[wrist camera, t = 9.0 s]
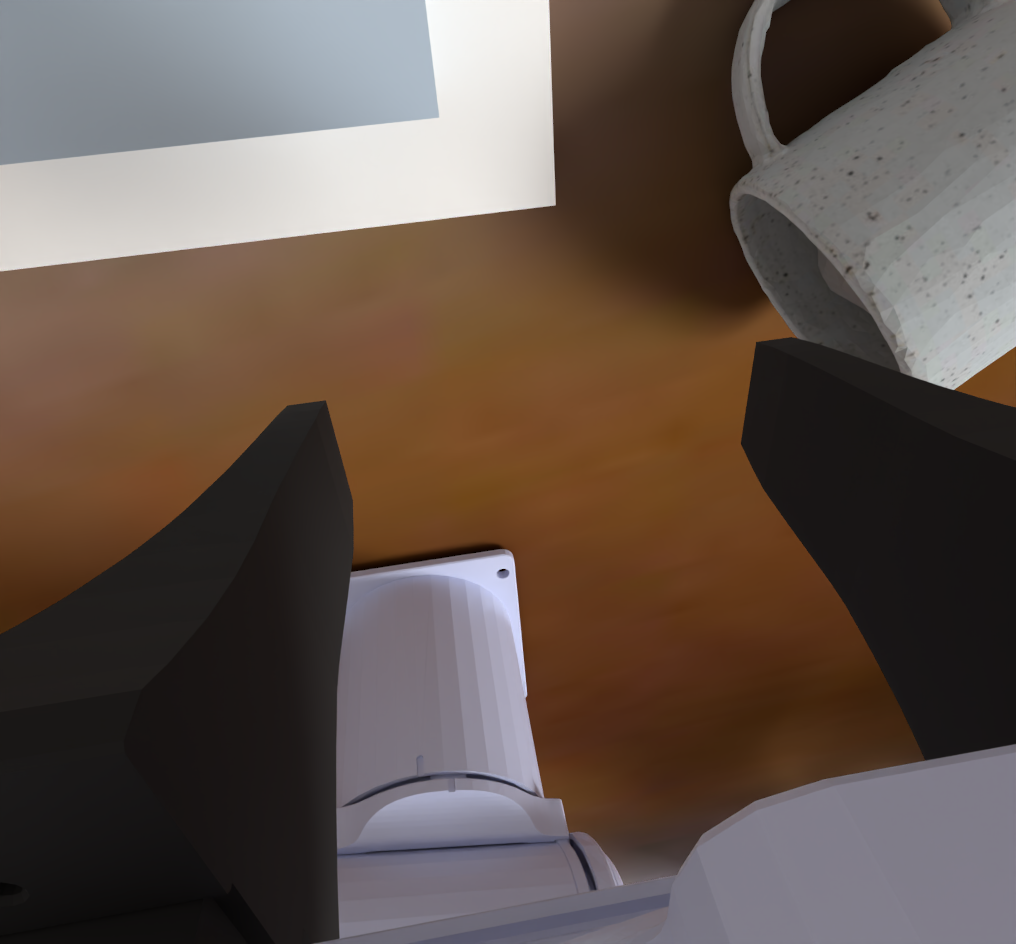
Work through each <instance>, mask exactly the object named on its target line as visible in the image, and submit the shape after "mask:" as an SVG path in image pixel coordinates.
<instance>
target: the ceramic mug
mask: <svg viewBox="0 0 1016 944" xmlns="http://www.w3.org/2000/svg"><path fill="white" fill-rule="evenodd" d="M789 1H790V0H755V1H754V3H753V4H752V6H751V8H750V10H749V11H748V13H747V15H746V17H745V19H744V21H743V23H742V25H741V27H740V29H739V33H738V38H737V42H736V46H735V51H734V57H733V62H732V78H731V83H732V98H733V103H734V108H735V113H736V118H737V122H738V125H739V128H740V132H741V135H742V138H743V141H744V145H745V147H746V149H747V151H748V153H749V155H750V157H751V159H752V166H753V168H752V170H751V171H750V172H749V173H748V174H747V175H745V176H743V177H742V178H741V179H740V180H739V181H738V182H737V184H736V185H735V186H734V187H733V189H732V191H731V194H730V200H729V205H730V210H731V221H732V225H733V229H734V231H735V233H736V235H737V237H738V239H739V242H740V244H741V246H742V249H743V253H744V256H745V258H746V260H747V262H748V264H749V266H750V268H751V269H752V271H753V273H754V275H755V276H756V278H757V280H758V282H759V283H760V285H761V288H762V290H763V291H764V292H765V293H766V295H767V296H768V297H769V299H770V302H771V303H772V304H773V306H774V307H775V308H776V310H777V311H778V312H779V314H780V315H781V316H782V318H783V319H784V321H785V322H786V324H787V325H788V327H789V328H790V329H791V331H792V332H793V333H794V334H795V335H796V337H797V338H798V339H801V340H806V341H809V342H813V343H816V344H820V345H823V346H826V347H829V348H832V349H835V350H838V351H841V352H844V353H847V354H850V355H852V356H855V357H858V358H861V359H864V360H867V361H869V362H872V363H875V364H878V365H881V366H883V367H886V368H889V369H892V370H895V371H898V372H900V373H903V374H906V375H909V376H912V377H915V378H918V379H921V380H924V381H927V382H930V383H933V384H936V385H939V386H942V387H945V388H949V389H952V390H954V389H955V388H957V387H958V386H960V385H961V384H962V383H964V382H965V381H967V380H968V379H969V378H971V377H972V376H974V375H975V374H976V373H978V372H979V371H981V370H982V369H983V368H985V367H986V366H988V365H989V364H991V363H992V362H993V361H995V360H996V359H998V358H999V357H1001V356H1002V355H1004V354H1005V353H1006V352H1008V351H1009V350H1011V349H1012V348H1014V347H1015V346H1016V0H939V1H940V3H941V5H942V7H943V8H944V10H945V12H946V13H947V15H948V17H949V18H950V21H951V24H952V27H951V30H950V31H948V32H947V33H945V34H944V35H943V36H941V37H940V38H938V39H937V40H935V41H934V42H932V43H930V44H928V45H926V46H924V47H923V48H922V49H921V50H920V51H919V52H918V53H916V54H915V55H913V56H912V57H911V58H909V59H908V60H906V61H905V62H903V63H902V64H900V65H899V66H897V67H895V68H894V69H892V70H891V71H890V73H889V74H888V75H887V76H886V77H885V78H884V79H882V80H881V81H879V82H878V83H877V84H875V85H874V86H872V87H871V88H869V89H868V90H866V91H865V92H864V93H862V94H861V95H859V96H858V97H856V98H854V99H853V100H851V101H850V102H848V103H847V104H845V105H844V106H842V107H841V108H839V109H837V110H835V111H834V112H832V113H831V114H829V115H828V116H826V117H825V118H823V119H822V120H821V121H820V122H819V123H817V124H816V125H814V126H813V127H811V128H810V129H809V130H807V131H806V132H804V133H803V134H801V135H799V136H798V137H797V138H795V139H794V140H792V141H791V142H790V143H789V144H788V145H786V146H785V145H782V144H780V142H779V141H778V140H777V138H776V137H775V136H774V134H773V131H772V128H771V126H770V123H769V115H768V110H767V108H766V105H765V99H764V93H763V87H762V81H761V56H762V52H763V48H764V42H765V36H766V31H767V30H768V28H769V27H770V21H771V14H772V12H773V11H775V10H777V9H778V8H780V7H781V6H783V5H784V4H786V3H787V2H789Z"/></svg>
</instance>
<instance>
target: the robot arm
mask: <svg viewBox="0 0 1016 944" xmlns="http://www.w3.org/2000/svg"><path fill="white" fill-rule="evenodd" d="M741 445H742V447H743V449H744V451H745V453H746V455H747V457H748V460H749V462H750V464H751V466H752V468H753V470H754V472H755V474H756V476H757V478H758V479H759V481H760V483H761V485H762V487H763V489H764V490H765V492H766V493H767V495H768V496H769V498H770V499H771V501H772V502H773V503H774V505H775V506H776V508H777V509H778V510H779V512H780V513H781V515H782V516H783V517H784V519H785V520H786V522H787V523H788V525H789V526H790V527H791V529H792V530H793V531H794V533H795V534H796V536H797V537H798V538H799V540H800V541H801V542H802V544H803V545H804V547H805V548H806V549H807V551H808V552H809V553H810V555H811V556H812V558H813V559H814V560H815V562H816V563H817V564H818V566H819V567H820V569H821V570H822V571H823V573H824V574H825V575H826V577H827V578H828V580H829V581H830V582H831V584H832V585H833V587H834V588H835V590H836V591H837V593H838V594H839V596H840V597H841V599H842V600H843V602H844V604H845V605H846V607H847V608H848V610H849V612H850V614H851V616H852V617H853V619H854V621H855V623H856V624H857V626H858V628H859V630H860V632H861V633H862V635H863V637H864V639H865V640H866V642H867V644H868V646H869V648H870V649H871V651H872V653H873V655H874V657H875V659H876V661H877V663H878V664H879V666H880V668H881V670H882V672H883V674H884V676H885V678H886V680H887V682H888V684H889V686H890V688H891V690H892V692H893V693H894V695H895V697H896V699H897V701H898V703H899V705H900V707H901V709H902V711H903V713H904V715H905V718H906V720H907V722H908V724H909V726H910V728H911V730H912V732H913V734H914V737H915V739H916V741H917V743H918V745H919V747H920V749H921V751H922V754H923V756H924V758H925V760H926V761H921V762H916V763H910V764H905V765H899V766H894V767H889V768H883V769H878V770H872V771H867V772H861V773H856V774H850V775H845V776H839V777H834V778H828V779H823V780H820V781H817V782H814V783H811V784H807V785H804V786H801V787H798V788H795V789H792V790H788V791H785V792H782V793H779V794H776V795H773V796H769V797H766V798H763V799H760V800H757V801H754V802H753V803H751V804H750V805H748V806H746V807H745V808H743V809H742V810H740V811H739V812H737V813H735V814H734V815H732V816H731V817H729V818H727V819H726V820H724V821H723V822H721V823H720V824H718V825H716V826H715V827H713V828H712V829H710V830H708V831H707V832H705V833H704V834H702V836H701V837H700V839H699V840H698V842H697V843H696V845H695V846H694V848H693V849H692V851H691V853H690V854H689V856H688V857H687V859H686V860H685V862H684V863H683V865H682V866H681V868H680V870H679V872H678V874H677V875H672V876H667V877H662V878H657V879H651V880H646V881H641V882H636V883H630V884H625V885H623V882H622V880H621V877H620V875H619V873H618V871H617V869H616V868H615V866H614V864H613V863H612V861H611V860H610V859H609V857H608V856H607V855H606V854H605V853H604V852H603V851H602V849H601V847H600V846H599V845H598V843H597V842H596V841H595V840H594V839H593V838H592V837H591V836H590V835H588V834H587V833H582V832H574V833H568V828H567V823H566V818H565V814H564V809H563V804H562V800H561V799H559V798H544V795H543V790H542V784H541V779H540V774H539V769H538V763H537V758H536V753H535V748H534V742H533V737H532V732H531V726H530V721H529V716H528V711H527V705H526V700H525V698H526V696H527V688H526V677H525V667H524V657H523V646H522V636H521V626H520V615H519V605H518V595H517V584H516V574H515V564H514V558H513V555H512V553H511V552H510V551H508V550H505V549H498V550H492V551H485V552H479V553H472V554H466V555H459V556H453V557H446V558H440V559H433V560H427V561H420V562H413V563H407V564H400V565H394V566H387V567H381V568H374V569H368V570H361V571H355V572H351V568H352V559H353V500H352V496H351V492H350V489H349V485H348V481H347V477H346V474H345V470H344V466H343V463H342V459H341V455H340V451H339V448H338V444H337V440H336V437H335V433H334V429H333V426H332V422H331V418H330V414H329V411H328V407H327V403H326V401H319V402H311V403H304V404H297V405H289V406H287V407H286V408H285V409H284V410H283V411H282V412H281V413H280V414H279V415H278V416H277V417H276V418H275V419H274V420H273V421H272V422H271V423H270V424H269V425H268V427H267V428H266V429H265V430H264V431H263V432H262V433H261V434H260V435H259V437H258V438H257V439H256V440H255V441H254V442H253V443H252V444H251V445H250V446H249V447H248V448H247V449H246V451H245V452H244V453H243V454H242V455H241V456H240V457H239V458H238V459H237V460H236V461H235V462H234V463H233V464H232V465H231V467H230V468H229V469H228V470H227V471H226V472H225V473H224V474H223V475H222V476H220V477H219V478H218V479H217V480H216V481H215V482H214V483H213V484H212V485H211V486H210V487H209V488H208V489H207V490H206V491H205V492H204V493H203V494H202V495H201V496H199V497H198V498H197V499H196V500H195V501H194V502H193V503H192V504H191V505H190V506H189V507H188V508H187V509H186V510H185V511H183V512H182V513H181V514H180V515H179V516H178V517H177V518H175V519H174V520H173V521H172V522H171V523H169V524H168V525H167V526H166V527H165V528H163V529H162V530H161V531H160V532H158V533H157V534H156V535H154V536H153V537H152V538H150V539H149V540H148V541H147V542H145V543H144V544H143V545H141V546H140V547H139V548H138V549H136V550H135V551H134V552H132V553H131V554H129V555H128V556H127V557H125V558H124V559H123V560H121V561H119V562H118V563H116V564H115V565H113V566H112V567H110V568H109V569H107V570H106V571H104V572H103V573H101V574H100V575H98V576H97V577H95V578H94V579H92V580H91V581H89V582H88V583H86V584H85V585H83V586H82V587H80V588H79V589H77V590H76V591H74V592H73V593H71V594H70V595H68V596H67V597H65V598H63V599H62V600H60V601H58V602H57V603H55V604H53V605H52V606H50V607H48V608H47V609H45V610H43V611H41V612H40V613H38V614H36V615H35V616H33V617H31V618H29V619H28V620H26V621H24V622H22V623H21V624H19V625H17V626H15V627H13V628H11V629H10V630H8V631H6V632H4V633H2V634H0V944H1016V407H1011V406H1007V405H1003V404H1000V403H996V402H992V401H989V400H985V399H982V398H978V397H975V396H972V395H968V394H965V393H962V392H959V391H955V390H952V389H949V388H945V387H942V386H939V385H936V384H933V383H930V382H927V381H924V380H921V379H918V378H915V377H912V376H909V375H906V374H903V373H900V372H898V371H895V370H892V369H889V368H886V367H883V366H881V365H878V364H875V363H872V362H869V361H867V360H864V359H861V358H858V357H855V356H852V355H850V354H847V353H844V352H841V351H838V350H835V349H832V348H829V347H826V346H823V345H820V344H816V343H813V342H809V341H806V340H801V339H797V338H792V337H791V338H783V339H776V340H769V341H761V342H756V348H755V354H754V361H753V368H752V374H751V381H750V387H749V394H748V400H747V407H746V413H745V420H744V427H743V433H742V440H741ZM501 569H506V570H505V571H502V572H499V570H501Z"/></svg>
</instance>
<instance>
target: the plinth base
mask: <svg viewBox="0 0 1016 944" xmlns="http://www.w3.org/2000/svg"><path fill="white" fill-rule="evenodd" d="M555 205H556V200H555V170H554V140H553V110H552V80H551V50H550V20H549V0H0V271H7V270H15V269H24V268H32V267H40V266H49V265H57V264H66V263H74V262H83V261H91V260H99V259H108V258H116V257H125V256H133V255H142V254H150V253H158V252H167V251H175V250H184V249H192V248H201V247H209V246H217V245H226V244H234V243H243V242H251V241H260V240H268V239H276V238H285V237H293V236H302V235H310V234H319V233H327V232H335V231H344V230H352V229H361V228H369V227H378V226H386V225H394V224H403V223H411V222H420V221H428V220H437V219H445V218H453V217H462V216H470V215H479V214H487V213H496V212H504V211H512V210H521V209H529V208H538V207H546V206H555Z"/></svg>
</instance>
